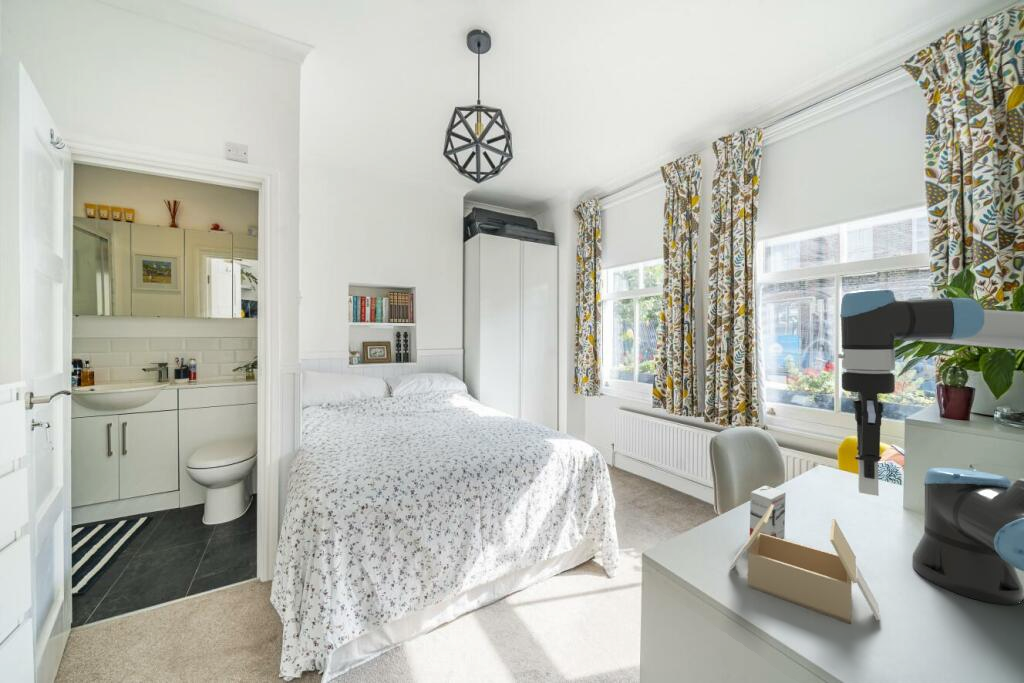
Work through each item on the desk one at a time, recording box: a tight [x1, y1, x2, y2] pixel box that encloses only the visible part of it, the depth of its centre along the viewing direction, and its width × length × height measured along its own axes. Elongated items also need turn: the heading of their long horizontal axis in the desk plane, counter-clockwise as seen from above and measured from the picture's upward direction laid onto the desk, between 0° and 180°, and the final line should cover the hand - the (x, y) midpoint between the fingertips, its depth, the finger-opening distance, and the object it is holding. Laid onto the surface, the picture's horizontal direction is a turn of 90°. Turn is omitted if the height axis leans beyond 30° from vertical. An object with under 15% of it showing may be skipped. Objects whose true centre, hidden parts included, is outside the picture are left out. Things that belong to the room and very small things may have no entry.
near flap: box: [829, 518, 881, 621], centre depth 73 cm, size 15×11×1 cm
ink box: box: [749, 485, 787, 539], centre depth 99 cm, size 8×5×12 cm, turn 123°
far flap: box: [729, 504, 774, 570], centre depth 84 cm, size 15×11×1 cm
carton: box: [747, 533, 853, 625], centre depth 79 cm, size 16×11×7 cm
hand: (868, 492), depth 75 cm, fingers closed
